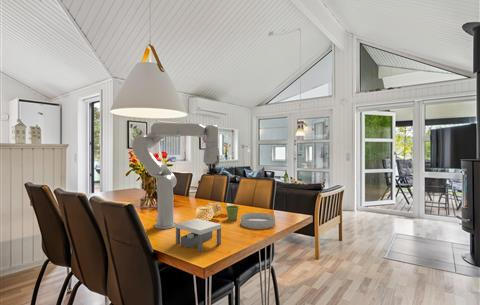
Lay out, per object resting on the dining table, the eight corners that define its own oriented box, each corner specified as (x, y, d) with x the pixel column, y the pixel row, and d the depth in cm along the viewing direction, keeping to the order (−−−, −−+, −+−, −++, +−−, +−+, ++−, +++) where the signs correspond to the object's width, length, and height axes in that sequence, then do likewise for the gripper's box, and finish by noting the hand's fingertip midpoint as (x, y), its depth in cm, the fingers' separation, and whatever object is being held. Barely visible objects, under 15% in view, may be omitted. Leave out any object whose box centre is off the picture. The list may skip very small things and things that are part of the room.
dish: (273, 230, 159) (273, 221, 159) (237, 228, 163) (237, 219, 163) (276, 221, 181) (276, 213, 181) (244, 219, 185) (244, 211, 185)
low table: (175, 243, 134) (175, 223, 134) (196, 236, 145) (196, 218, 145) (200, 252, 123) (200, 230, 123) (220, 244, 134) (221, 224, 134)
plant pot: (222, 219, 183) (222, 206, 183) (232, 217, 190) (232, 204, 190) (231, 221, 177) (231, 208, 177) (241, 219, 183) (242, 206, 183)
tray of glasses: (180, 246, 131) (180, 235, 131) (202, 236, 147) (202, 226, 147) (191, 248, 128) (191, 237, 128) (212, 238, 144) (212, 228, 144)
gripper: (199, 145, 167) (199, 174, 167) (216, 144, 157) (216, 176, 157) (207, 145, 172) (207, 173, 172) (224, 145, 163) (224, 175, 163)
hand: (211, 174), depth 165 cm, fingers closed
